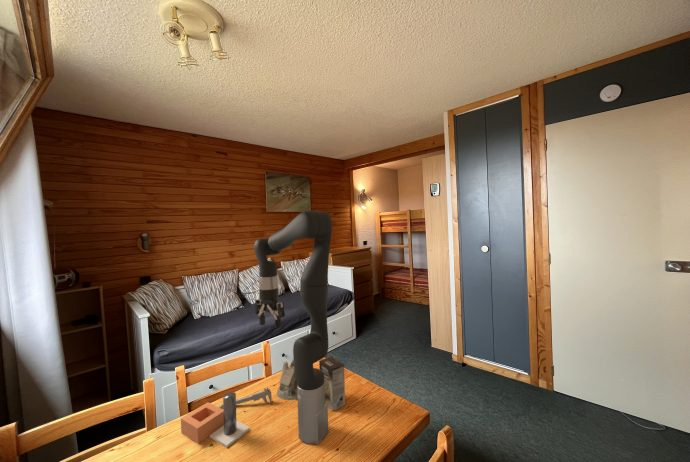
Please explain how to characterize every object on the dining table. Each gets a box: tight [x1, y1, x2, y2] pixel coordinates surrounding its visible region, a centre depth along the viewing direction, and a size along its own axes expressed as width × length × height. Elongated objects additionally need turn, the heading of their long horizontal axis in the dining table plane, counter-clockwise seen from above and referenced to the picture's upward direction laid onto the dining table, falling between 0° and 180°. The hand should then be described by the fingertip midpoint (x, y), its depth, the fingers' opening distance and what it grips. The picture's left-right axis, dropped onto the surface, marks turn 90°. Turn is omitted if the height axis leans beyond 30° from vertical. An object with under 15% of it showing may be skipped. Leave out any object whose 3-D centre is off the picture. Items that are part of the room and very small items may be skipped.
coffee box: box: [318, 356, 346, 412], centre depth 107 cm, size 9×6×16 cm
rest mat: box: [209, 420, 251, 449], centre depth 92 cm, size 9×9×1 cm
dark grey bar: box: [222, 391, 237, 435], centre depth 93 cm, size 4×4×12 cm
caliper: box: [218, 386, 273, 409], centre depth 108 cm, size 20×1×6 cm, turn 98°
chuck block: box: [180, 401, 224, 444], centre depth 95 cm, size 10×10×5 cm
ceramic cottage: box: [276, 356, 298, 401], centre depth 116 cm, size 16×16×15 cm
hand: (269, 326), depth 111 cm, fingers open, 8 cm apart
